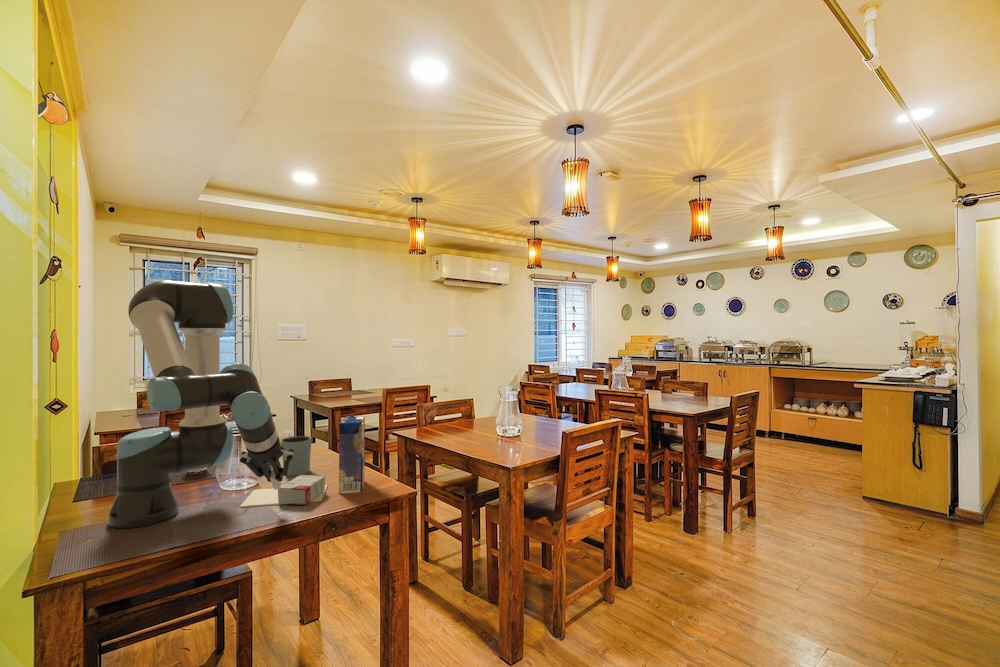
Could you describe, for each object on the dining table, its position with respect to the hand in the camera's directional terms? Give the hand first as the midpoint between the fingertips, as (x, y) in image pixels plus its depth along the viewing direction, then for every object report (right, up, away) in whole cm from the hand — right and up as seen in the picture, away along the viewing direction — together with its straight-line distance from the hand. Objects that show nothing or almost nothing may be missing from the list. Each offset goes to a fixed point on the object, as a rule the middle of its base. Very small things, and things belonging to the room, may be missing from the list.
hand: (277, 484), depth 132 cm
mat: (-3, -7, +11) cm, 13 cm away
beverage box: (+15, -7, +19) cm, 25 cm away
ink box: (+3, -4, +3) cm, 6 cm away
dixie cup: (-46, -7, +36) cm, 59 cm away
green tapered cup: (-10, -7, +35) cm, 37 cm away
